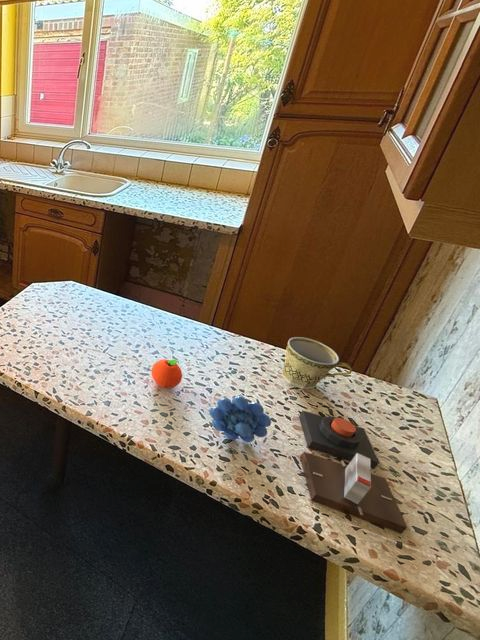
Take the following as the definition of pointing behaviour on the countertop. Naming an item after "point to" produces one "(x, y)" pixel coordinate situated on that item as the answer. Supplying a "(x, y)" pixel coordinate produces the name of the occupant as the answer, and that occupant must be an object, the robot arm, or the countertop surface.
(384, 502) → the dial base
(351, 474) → the grey block
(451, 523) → the countertop surface
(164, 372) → the clementine
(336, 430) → the button
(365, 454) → the button box
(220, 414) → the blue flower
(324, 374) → the ceramic cup
